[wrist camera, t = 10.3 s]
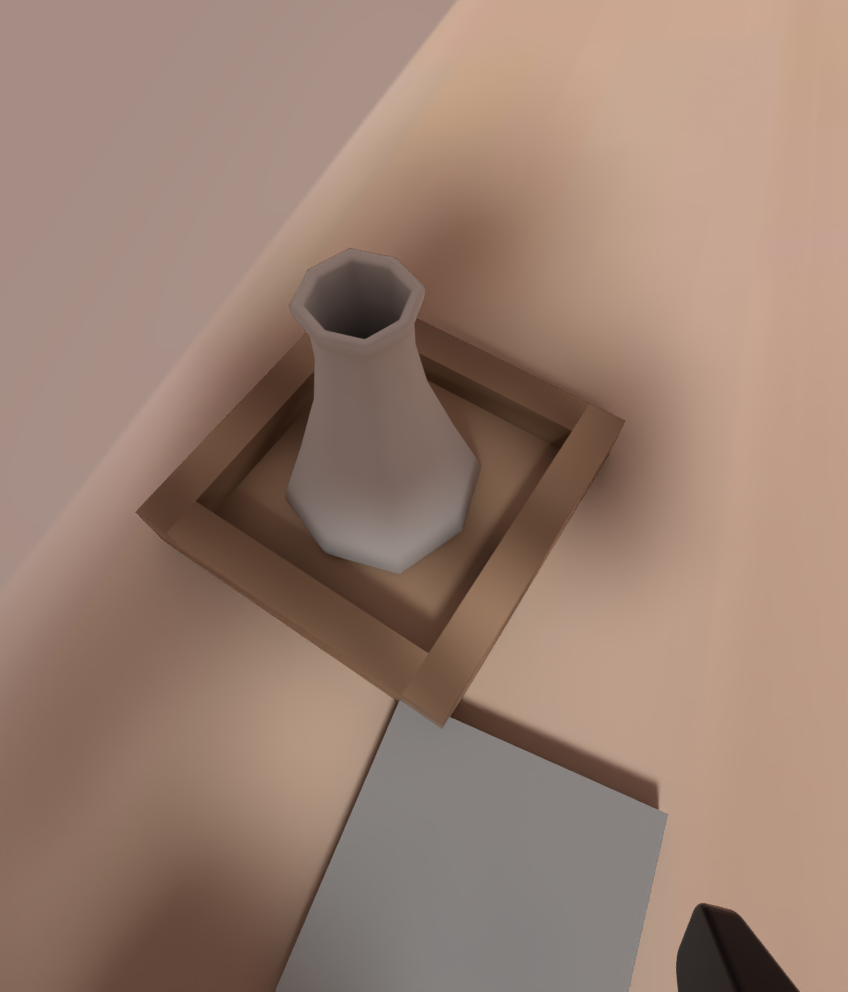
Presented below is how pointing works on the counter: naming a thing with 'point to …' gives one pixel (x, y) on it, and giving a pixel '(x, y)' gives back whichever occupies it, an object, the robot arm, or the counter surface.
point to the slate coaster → (478, 874)
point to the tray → (432, 580)
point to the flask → (374, 421)
